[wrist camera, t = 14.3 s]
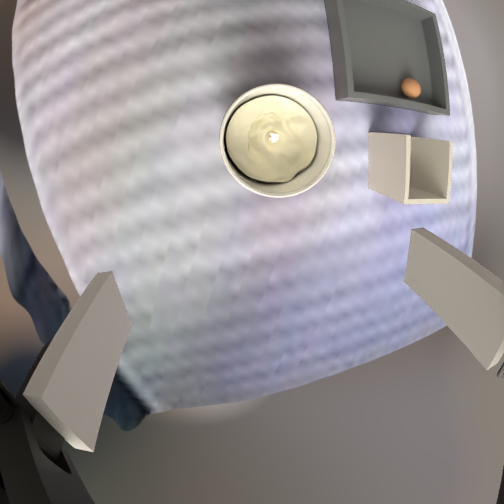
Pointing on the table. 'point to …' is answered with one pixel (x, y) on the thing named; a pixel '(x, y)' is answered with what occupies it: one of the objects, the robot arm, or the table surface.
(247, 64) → the table surface
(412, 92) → the ball
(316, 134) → the candle holder
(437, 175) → the cream open-top bin
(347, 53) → the tray
